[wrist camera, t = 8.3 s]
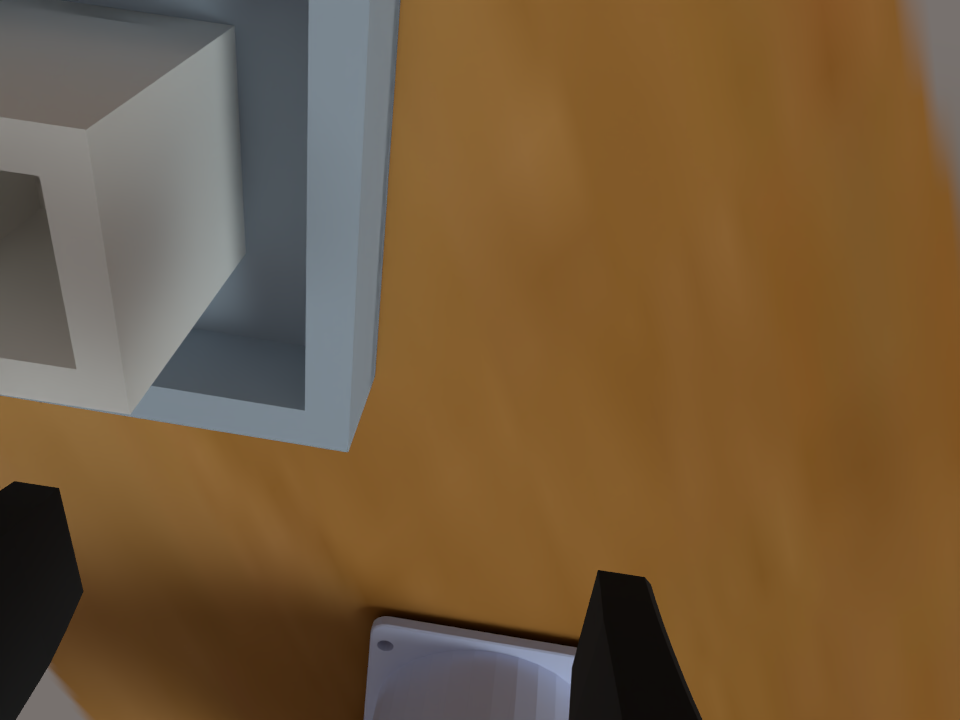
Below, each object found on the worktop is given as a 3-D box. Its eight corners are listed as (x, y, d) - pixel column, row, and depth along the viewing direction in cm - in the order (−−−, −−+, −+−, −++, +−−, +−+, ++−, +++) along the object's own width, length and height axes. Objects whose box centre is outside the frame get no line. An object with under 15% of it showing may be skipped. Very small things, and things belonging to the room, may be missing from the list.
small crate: (245, 253, 19) (129, 414, 14) (31, 221, 20) (-157, 369, 15) (234, 25, 17) (86, 129, 12) (-17, -12, 17) (-271, 76, 12)
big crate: (375, 376, 22) (347, 452, 19) (-48, 307, 22) (-128, 374, 19) (407, -110, 15) (374, -88, 13) (-183, -201, 16) (-329, -198, 13)
